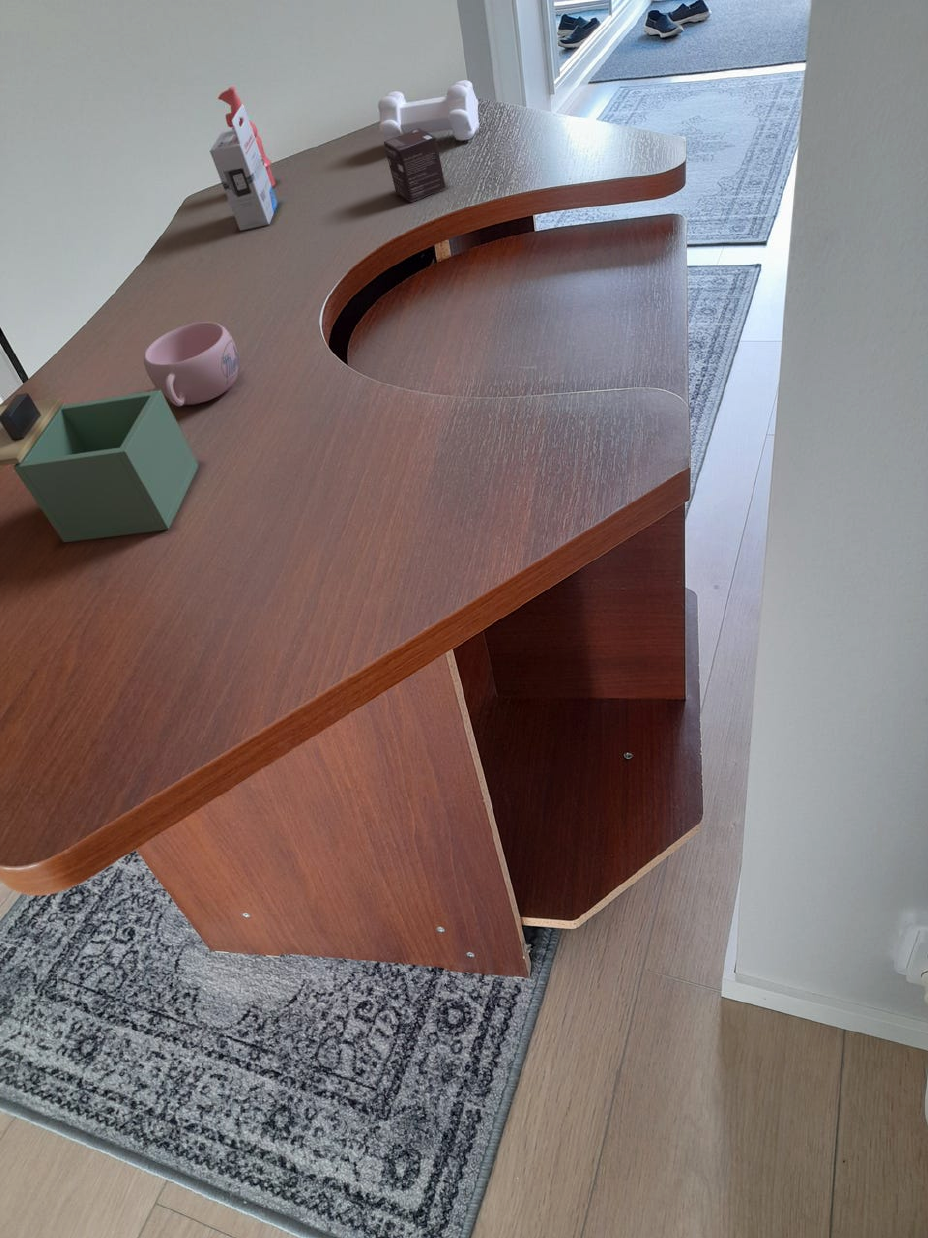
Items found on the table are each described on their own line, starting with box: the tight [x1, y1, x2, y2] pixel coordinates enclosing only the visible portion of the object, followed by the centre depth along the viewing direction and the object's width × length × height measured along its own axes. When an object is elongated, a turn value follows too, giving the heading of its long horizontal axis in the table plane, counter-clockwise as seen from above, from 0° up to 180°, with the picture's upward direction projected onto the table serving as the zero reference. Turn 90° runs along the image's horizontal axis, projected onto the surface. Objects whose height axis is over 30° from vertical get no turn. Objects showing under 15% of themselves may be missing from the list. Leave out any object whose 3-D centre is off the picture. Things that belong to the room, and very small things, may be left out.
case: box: [13, 389, 199, 543], centre depth 85 cm, size 10×11×9 cm
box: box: [383, 129, 447, 203], centre depth 130 cm, size 6×6×7 cm
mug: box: [143, 321, 239, 407], centre depth 99 cm, size 12×10×6 cm
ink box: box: [209, 103, 278, 231], centre depth 134 cm, size 9×5×15 cm, turn 179°
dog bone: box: [377, 79, 480, 141], centre depth 145 cm, size 15×9×8 cm, turn 76°
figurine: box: [217, 86, 276, 188], centre depth 145 cm, size 5×5×15 cm
